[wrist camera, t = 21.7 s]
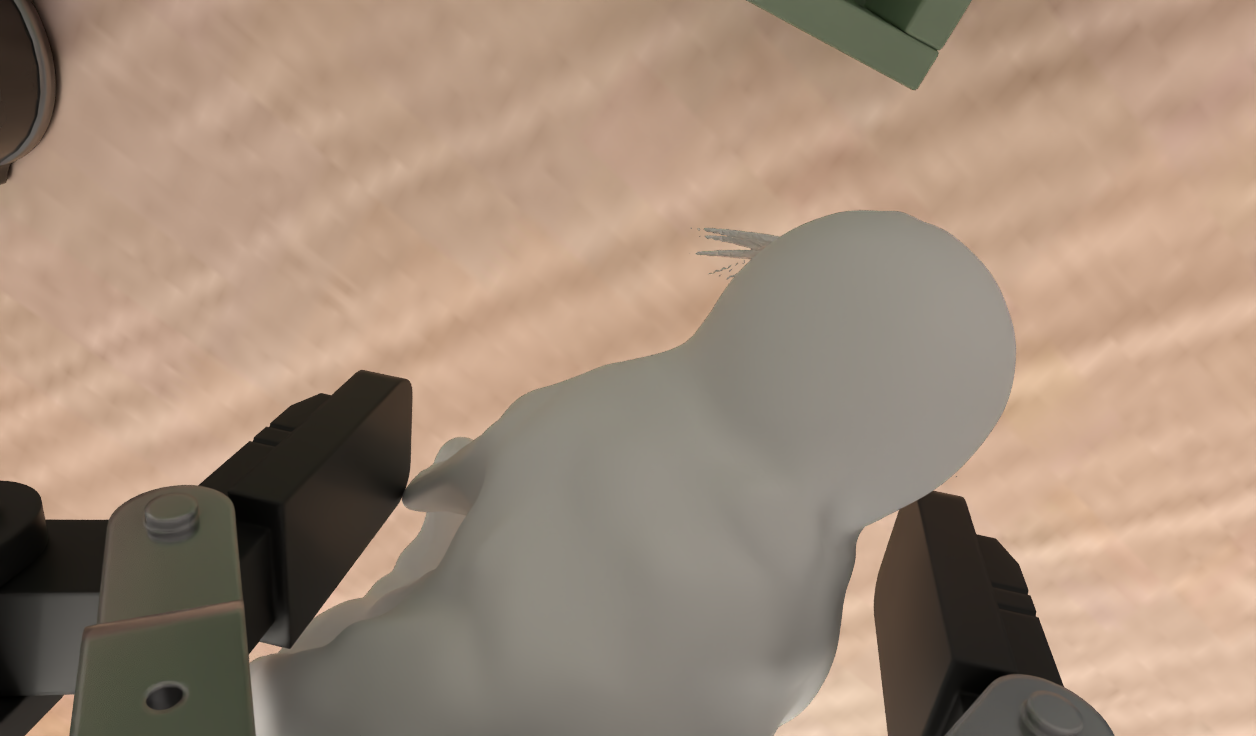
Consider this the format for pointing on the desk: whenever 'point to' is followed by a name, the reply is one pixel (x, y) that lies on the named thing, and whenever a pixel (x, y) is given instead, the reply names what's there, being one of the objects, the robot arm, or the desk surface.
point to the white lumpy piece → (672, 509)
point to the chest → (877, 30)
